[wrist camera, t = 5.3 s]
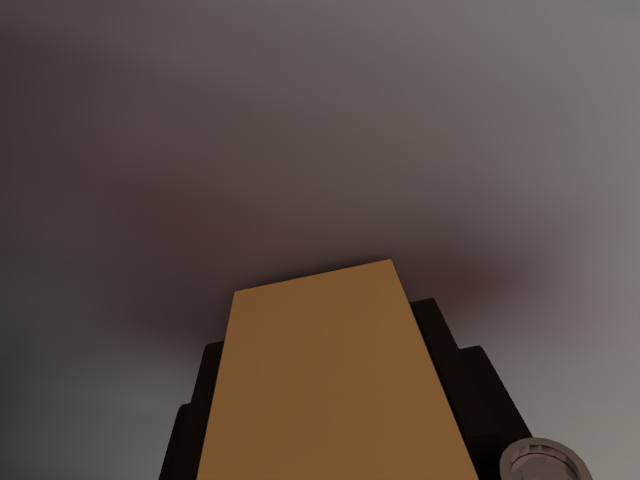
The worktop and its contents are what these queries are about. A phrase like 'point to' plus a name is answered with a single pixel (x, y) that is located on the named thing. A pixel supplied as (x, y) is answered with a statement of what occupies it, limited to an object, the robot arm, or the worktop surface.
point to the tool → (330, 386)
